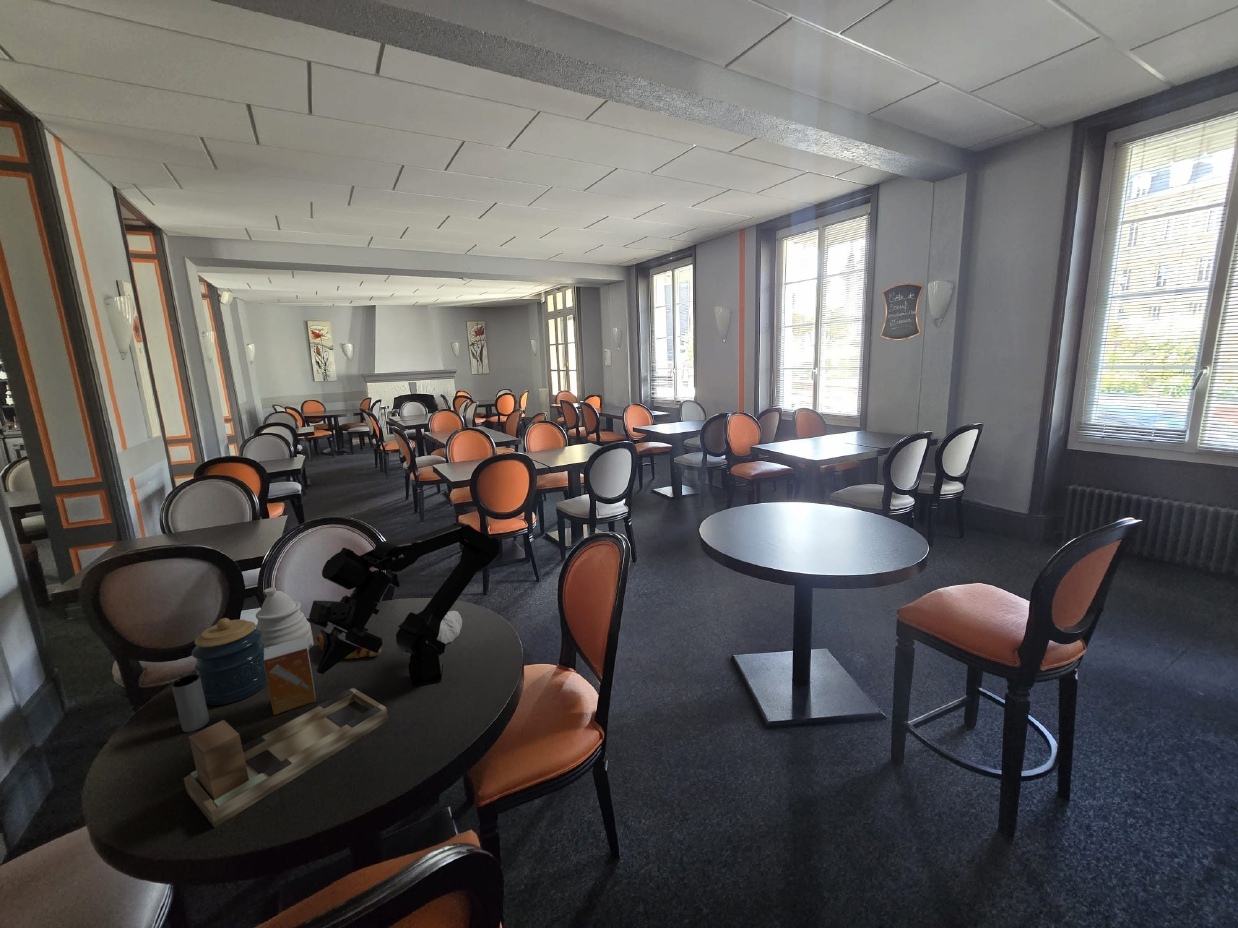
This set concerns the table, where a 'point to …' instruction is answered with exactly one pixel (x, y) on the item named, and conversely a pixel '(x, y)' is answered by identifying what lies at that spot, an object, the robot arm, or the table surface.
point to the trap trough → (292, 751)
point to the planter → (190, 702)
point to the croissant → (357, 653)
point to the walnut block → (219, 759)
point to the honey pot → (282, 620)
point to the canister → (230, 661)
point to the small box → (289, 675)
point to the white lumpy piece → (450, 627)
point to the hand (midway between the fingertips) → (319, 672)
